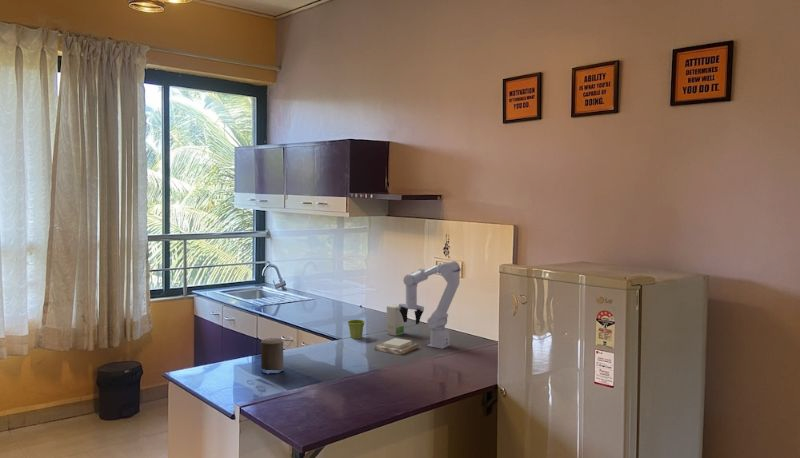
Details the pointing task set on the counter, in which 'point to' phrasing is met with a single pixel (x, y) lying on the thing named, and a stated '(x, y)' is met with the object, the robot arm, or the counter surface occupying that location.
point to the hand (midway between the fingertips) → (411, 322)
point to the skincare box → (394, 321)
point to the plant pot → (356, 328)
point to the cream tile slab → (397, 343)
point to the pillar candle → (272, 354)
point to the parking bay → (396, 351)
